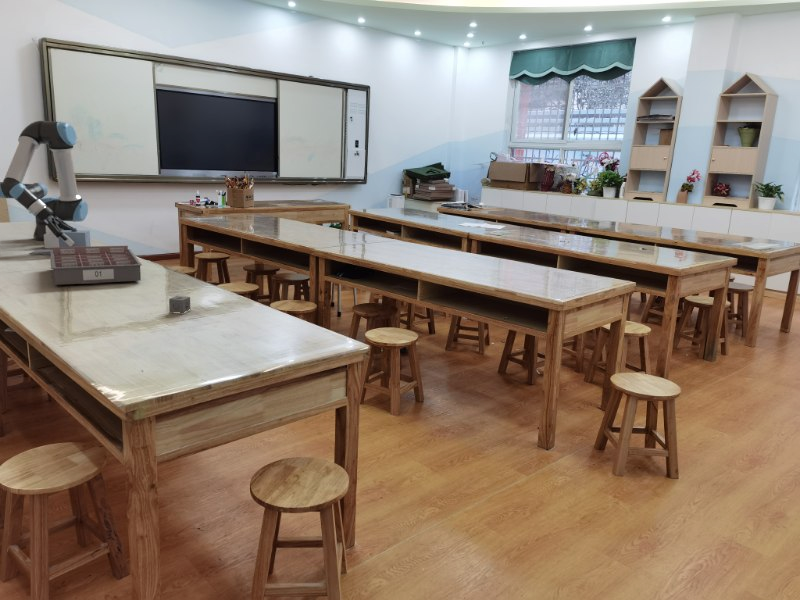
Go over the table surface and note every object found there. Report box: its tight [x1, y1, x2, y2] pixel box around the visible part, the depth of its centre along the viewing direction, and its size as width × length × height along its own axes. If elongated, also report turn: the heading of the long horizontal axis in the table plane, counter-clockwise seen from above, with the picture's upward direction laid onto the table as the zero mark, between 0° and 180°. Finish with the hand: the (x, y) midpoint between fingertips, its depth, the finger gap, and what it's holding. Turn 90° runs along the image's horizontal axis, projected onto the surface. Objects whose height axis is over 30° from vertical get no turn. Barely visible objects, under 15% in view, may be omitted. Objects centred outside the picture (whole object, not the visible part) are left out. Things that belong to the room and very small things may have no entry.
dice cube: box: [168, 295, 191, 313], centre depth 207 cm, size 5×5×5 cm
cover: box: [59, 227, 92, 247], centre depth 300 cm, size 8×12×13 cm, turn 102°
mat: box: [28, 249, 53, 256], centre depth 299 cm, size 12×10×1 cm
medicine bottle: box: [43, 225, 59, 249], centre depth 313 cm, size 7×7×12 cm
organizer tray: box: [49, 245, 143, 286], centre depth 253 cm, size 32×40×10 cm
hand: (76, 242), depth 300 cm, fingers open, 13 cm apart
